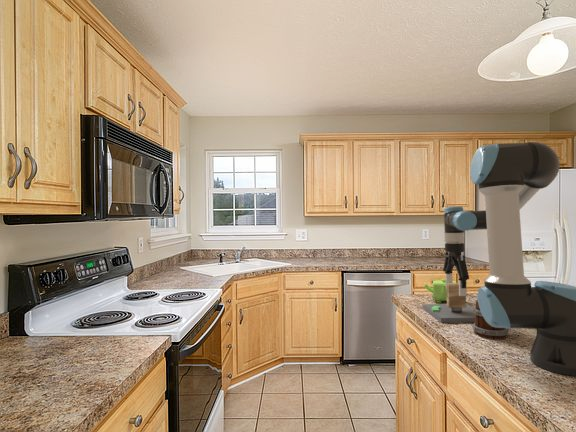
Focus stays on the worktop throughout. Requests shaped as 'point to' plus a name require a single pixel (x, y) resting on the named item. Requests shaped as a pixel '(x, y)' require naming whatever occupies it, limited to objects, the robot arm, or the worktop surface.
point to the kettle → (438, 290)
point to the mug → (487, 327)
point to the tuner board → (450, 313)
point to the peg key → (455, 298)
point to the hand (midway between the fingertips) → (455, 292)
